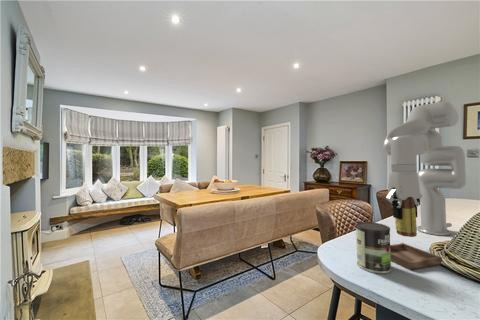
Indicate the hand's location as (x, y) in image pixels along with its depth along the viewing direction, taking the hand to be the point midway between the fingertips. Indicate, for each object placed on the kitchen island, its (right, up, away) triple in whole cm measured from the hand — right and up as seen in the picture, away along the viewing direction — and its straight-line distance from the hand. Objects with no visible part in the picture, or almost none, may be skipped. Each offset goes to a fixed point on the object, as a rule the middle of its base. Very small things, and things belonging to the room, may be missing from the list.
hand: (405, 217), depth 81 cm
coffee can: (-15, -16, -5) cm, 22 cm away
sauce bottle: (0, -7, 0) cm, 7 cm away
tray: (0, -16, 0) cm, 16 cm away
